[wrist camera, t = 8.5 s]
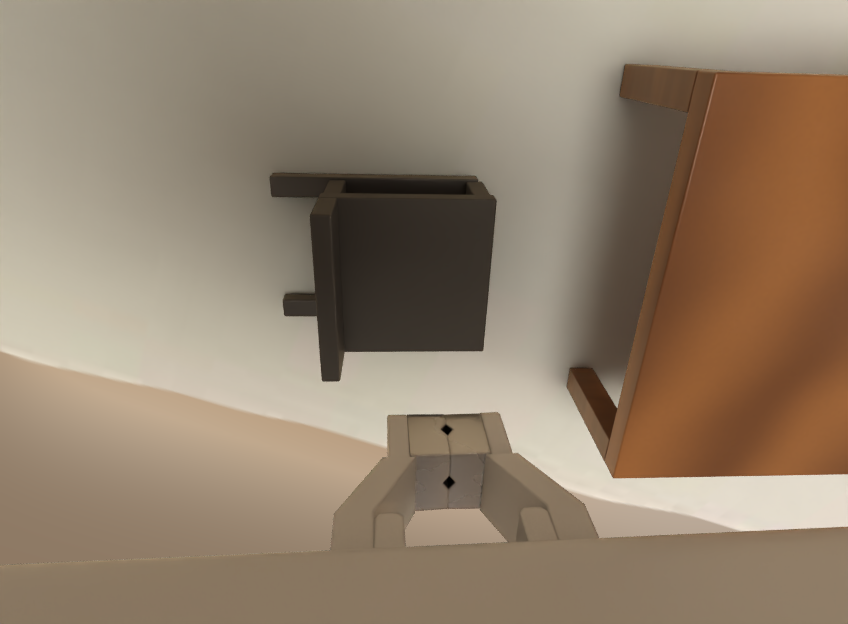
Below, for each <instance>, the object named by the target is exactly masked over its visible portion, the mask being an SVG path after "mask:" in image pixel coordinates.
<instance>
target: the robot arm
mask: <svg viewBox="0 0 848 624" xmlns="http://www.w3.org/2000/svg"><path fill="white" fill-rule="evenodd" d="M387 451H388V457H384V458H382V459H381V460H380V461H379V462H378V464H377V465H376V466H375V467H374V468H373V469H372V470H371V472H370V473H369V474H368V475H367V476H366V477H365V479H364V480H363V481H362V482H361V483H360V484H359V485H358V487H357V488H356V489H355V490H354V491H353V492H352V494H351V495H350V496H349V497H348V498H347V499H346V500H345V502H344V503H343V504H342V505H341V506H340V507H339V509H338V510H337V511H336V512H335V513H334V519H333V529H332V538H331V548H330V550H325V551H304V552H281V553H259V554H237V555H216V556H215V555H214V556H191V557H169V558H147V559H124V560H103V561H81V562H58V563H35V564H14V565H13V564H12V565H0V624H848V527H832V528H810V529H788V530H766V531H744V532H722V533H701V534H681V535H680V534H678V535H658V536H657V535H656V536H637V537H614V538H599V537H598V534H597V532H596V530H595V527H594V525H593V523H592V520H591V518H590V516H589V513H588V511H587V509H586V506H585V504H584V503H582V502H581V501H580V500H578V499H577V498H576V497H574V496H573V495H572V494H571V493H569V492H568V491H567V490H565V489H564V488H563V487H561V486H560V485H559V484H558V483H556V482H555V481H554V480H552V479H551V478H550V477H548V476H547V475H546V474H544V473H543V472H542V471H541V470H539V469H538V468H537V467H535V466H534V465H533V464H531V463H530V462H529V461H527V460H526V459H525V458H524V457H522V456H521V455H520V454H518V453H512V450H511V447H510V443H509V440H508V437H507V434H506V431H505V428H504V425H503V422H502V419H501V416H500V414H499V413H498V412H489V413H480V414H448V415H444V414H435V415H407V416H406V415H388V417H387ZM465 508H466V509H467V508H468V509H470V508H480V511H481V512H482V513H483V514H484V515H485V516H486V517H487V518H488V520H489V521H490V522H491V523H492V524H493V525H494V527H495V528H496V529H497V530H498V531H499V532H500V533H501V535H502V536H503V537H504V538H505V539H506V540H507V541H508V542H501V543H480V544H458V545H437V546H415V547H406V543H405V528H406V527H407V525H408V524H409V522H410V520H411V518H412V516H413V515H414V513H415V511H422V510H434V509H435V510H436V509H465Z"/></svg>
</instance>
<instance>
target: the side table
mask: <svg viewBox="0 0 848 624" xmlns="http://www.w3.org/2000/svg"><path fill="white" fill-rule="evenodd" d="M620 97H623V98H628V99H632V100H636V101H641V102H645V103H649V104H654V105H658V106H662V107H666V108H671V109H675V110H679V111H684V112H688V115H687V120H686V124H685V128H684V132H683V136H682V140H681V145H680V149H679V153H678V157H677V161H676V166H675V170H674V174H673V178H672V182H671V186H670V191H669V195H668V199H667V203H666V207H665V211H664V216H663V220H662V224H661V228H660V232H659V237H658V241H657V245H656V249H655V253H654V257H653V262H652V266H651V270H650V274H649V278H648V283H647V287H646V291H645V295H644V299H643V303H642V308H641V312H640V316H639V320H638V324H637V329H636V333H635V337H634V341H633V345H632V349H631V354H630V358H629V362H628V366H627V370H626V375H625V379H624V383H623V387H622V391H621V395H620V400H619V404H618V408H616V406H615V404H614V403H613V401H612V399H611V398H610V396H609V395H608V393H607V391H606V390H605V388H604V386H603V385H602V383H601V381H600V380H599V378H598V377H597V375H596V373H595V372H594V370H593V369H592V368H570V372H569V377H568V383H567V388H568V390H569V392H570V394H571V396H572V398H573V400H574V402H575V404H576V406H577V408H578V410H579V412H580V414H581V416H582V418H583V420H584V422H585V424H586V426H587V428H588V430H589V432H590V434H591V436H592V438H593V440H594V442H595V444H596V446H597V448H598V450H599V452H600V454H601V456H602V458H603V460H604V461H605V463H606V465H607V467H608V469H609V471H610V473H611V475H612V477H613V478H659V477H715V476H772V475H828V474H848V75H840V74H806V73H771V72H737V71H724V70H711V69H699V68H686V67H674V66H661V65H641V64H626V65H625V69H624V74H623V80H622V85H621V91H620Z"/></svg>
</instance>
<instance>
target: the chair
mask: <svg viewBox="0 0 848 624" xmlns="http://www.w3.org/2000/svg"><path fill="white" fill-rule="evenodd" d="M270 186H271V196H272V197H318V200H317V202H316V204H315V206H314V208H313V210H312V212H311V214H310V226H311V240H312V253H313V267H314V281H315V294H286V295H285V296H284V299H283V308H284V315H285V316H317V321H318V335H319V348H320V362H321V376H322V381H340V378H341V371H342V365H343V359H344V352H400V351H483V347H484V336H485V325H486V314H487V302H488V291H489V280H490V269H491V258H492V247H493V235H494V224H495V213H496V202H497V200H496V199H495V197H494V196H493V195H490V194H489V192H488V191H487V189H486V188H485V186H484V184H483V183H482V182H478V179H477V177H476V176H440V175H374V174H307V173H273V174H272V175H271V176H270Z"/></svg>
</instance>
